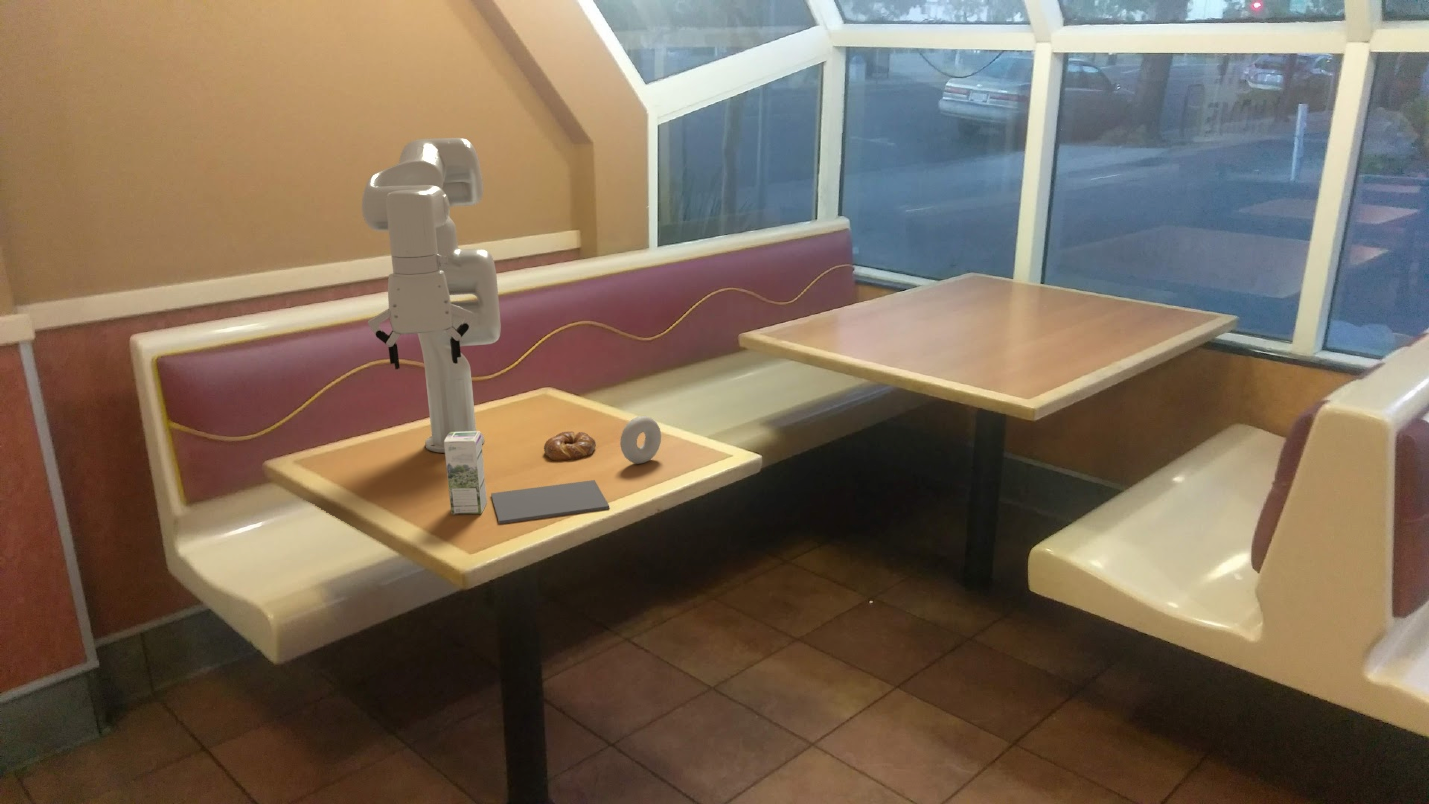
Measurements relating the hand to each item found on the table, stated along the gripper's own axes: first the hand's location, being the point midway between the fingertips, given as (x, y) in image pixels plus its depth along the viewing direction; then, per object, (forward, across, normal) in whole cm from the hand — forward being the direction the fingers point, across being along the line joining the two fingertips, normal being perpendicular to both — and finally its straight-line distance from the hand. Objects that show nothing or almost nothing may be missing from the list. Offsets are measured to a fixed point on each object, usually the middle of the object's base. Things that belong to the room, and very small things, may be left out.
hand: (426, 364), depth 173 cm
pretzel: (+30, -29, -28) cm, 50 cm away
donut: (+29, -42, -16) cm, 53 cm away
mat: (+29, -20, -2) cm, 35 cm away
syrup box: (+29, -5, -4) cm, 30 cm away
